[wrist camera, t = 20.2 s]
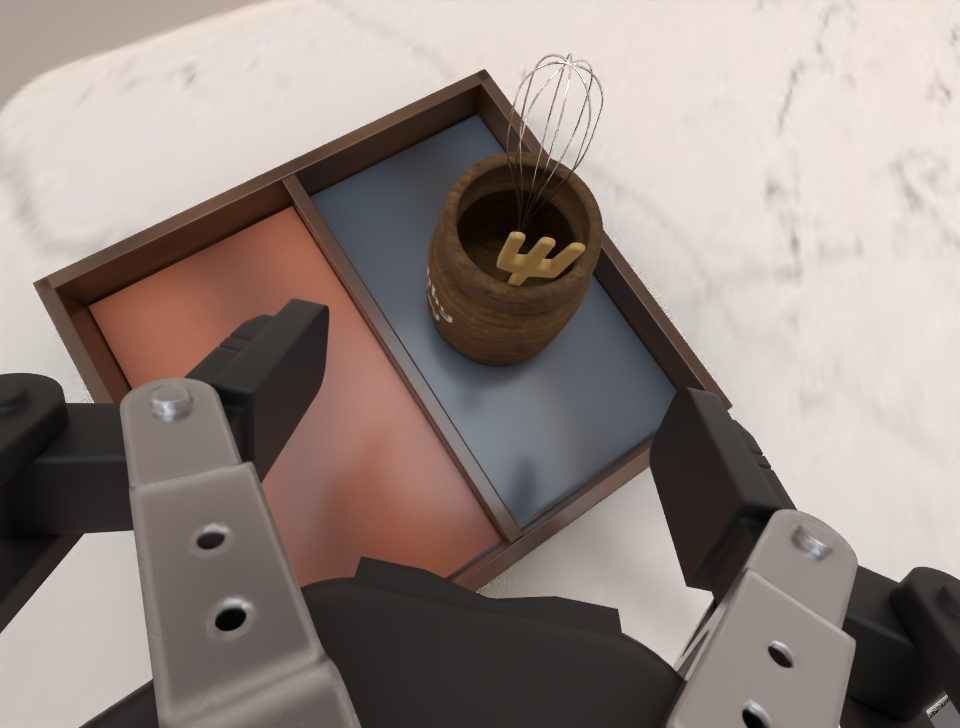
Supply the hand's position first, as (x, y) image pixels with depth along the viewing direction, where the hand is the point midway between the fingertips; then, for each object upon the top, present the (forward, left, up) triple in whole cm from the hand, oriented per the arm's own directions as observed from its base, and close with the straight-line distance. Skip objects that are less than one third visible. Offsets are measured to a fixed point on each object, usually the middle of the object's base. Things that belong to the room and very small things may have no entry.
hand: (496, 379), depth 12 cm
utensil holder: (+4, +4, -10) cm, 11 cm away
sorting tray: (-1, +4, -10) cm, 11 cm away
